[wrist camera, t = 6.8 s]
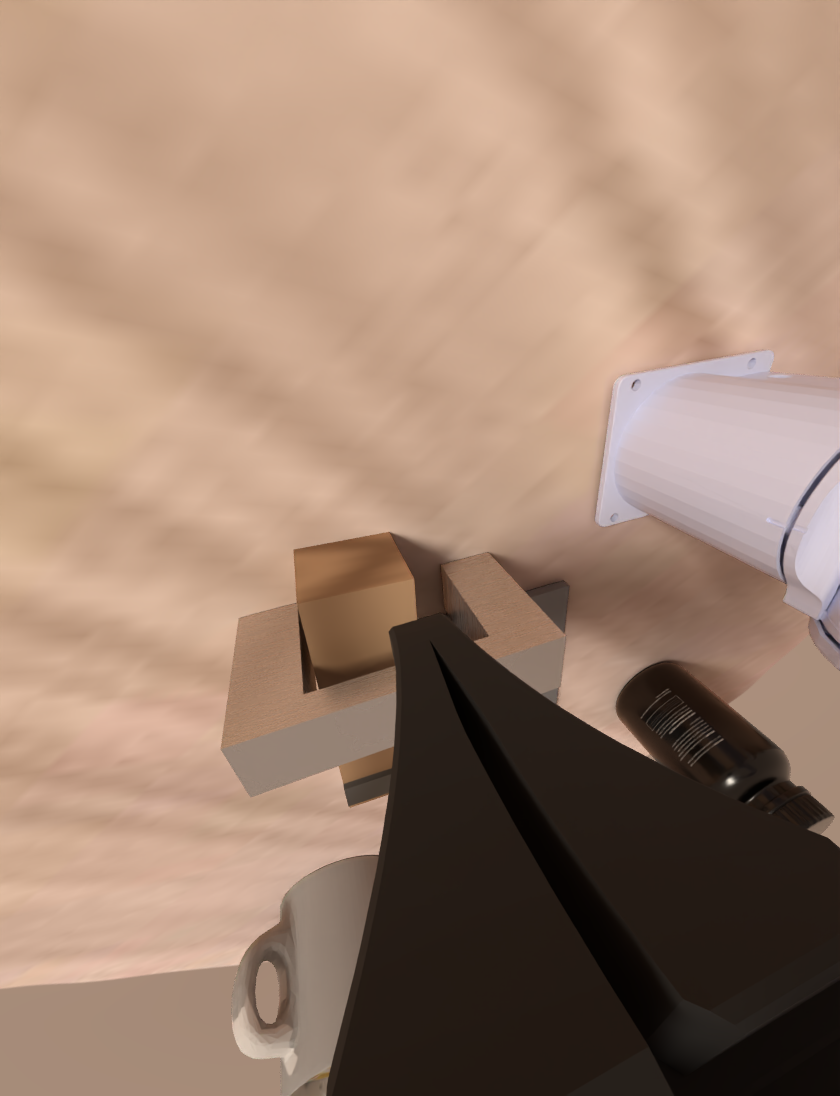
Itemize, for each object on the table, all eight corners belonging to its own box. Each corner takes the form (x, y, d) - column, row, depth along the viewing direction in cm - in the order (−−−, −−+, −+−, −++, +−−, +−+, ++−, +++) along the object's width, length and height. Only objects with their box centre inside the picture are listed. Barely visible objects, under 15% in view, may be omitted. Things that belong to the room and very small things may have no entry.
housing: (488, 552, 21) (566, 636, 16) (489, 595, 23) (560, 686, 17) (238, 618, 19) (220, 749, 13) (258, 662, 20) (250, 797, 15)
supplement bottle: (612, 728, 35) (744, 888, 25) (612, 681, 31) (767, 846, 21) (677, 696, 36) (830, 838, 26) (684, 646, 32) (867, 789, 22)
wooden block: (388, 530, 19) (416, 582, 15) (406, 716, 26) (429, 786, 22) (293, 547, 18) (297, 608, 14) (339, 736, 25) (350, 813, 21)
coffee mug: (419, 861, 36) (461, 1022, 28) (348, 923, 38) (368, 1093, 29) (295, 843, 29) (301, 1053, 21) (214, 921, 31) (190, 1144, 22)
